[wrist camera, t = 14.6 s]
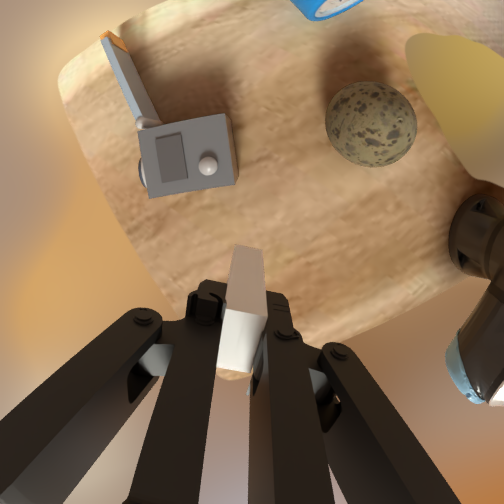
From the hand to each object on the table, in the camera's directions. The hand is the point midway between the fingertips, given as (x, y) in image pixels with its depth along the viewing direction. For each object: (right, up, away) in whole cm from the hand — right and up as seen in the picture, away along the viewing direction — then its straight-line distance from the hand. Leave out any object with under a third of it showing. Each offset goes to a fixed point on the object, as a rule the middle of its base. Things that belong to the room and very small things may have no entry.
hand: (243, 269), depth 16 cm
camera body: (-7, +15, +23) cm, 28 cm away
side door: (-16, +25, +19) cm, 35 cm away
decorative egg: (+15, +19, +21) cm, 32 cm away
